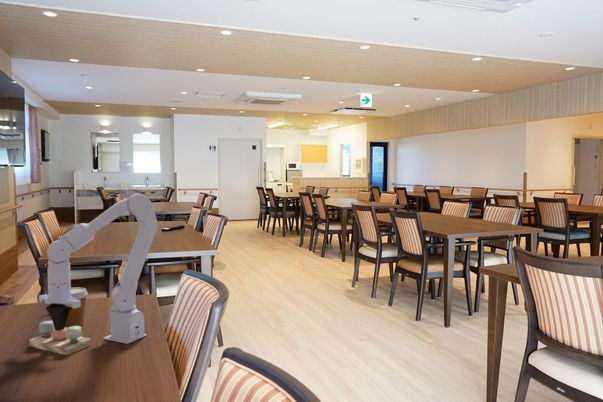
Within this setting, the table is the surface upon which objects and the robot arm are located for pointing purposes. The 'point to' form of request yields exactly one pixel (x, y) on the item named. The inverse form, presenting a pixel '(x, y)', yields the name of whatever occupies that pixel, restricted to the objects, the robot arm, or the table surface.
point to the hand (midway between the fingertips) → (59, 329)
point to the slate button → (46, 328)
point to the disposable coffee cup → (77, 313)
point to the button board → (59, 344)
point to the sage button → (73, 333)
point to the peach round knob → (59, 334)
